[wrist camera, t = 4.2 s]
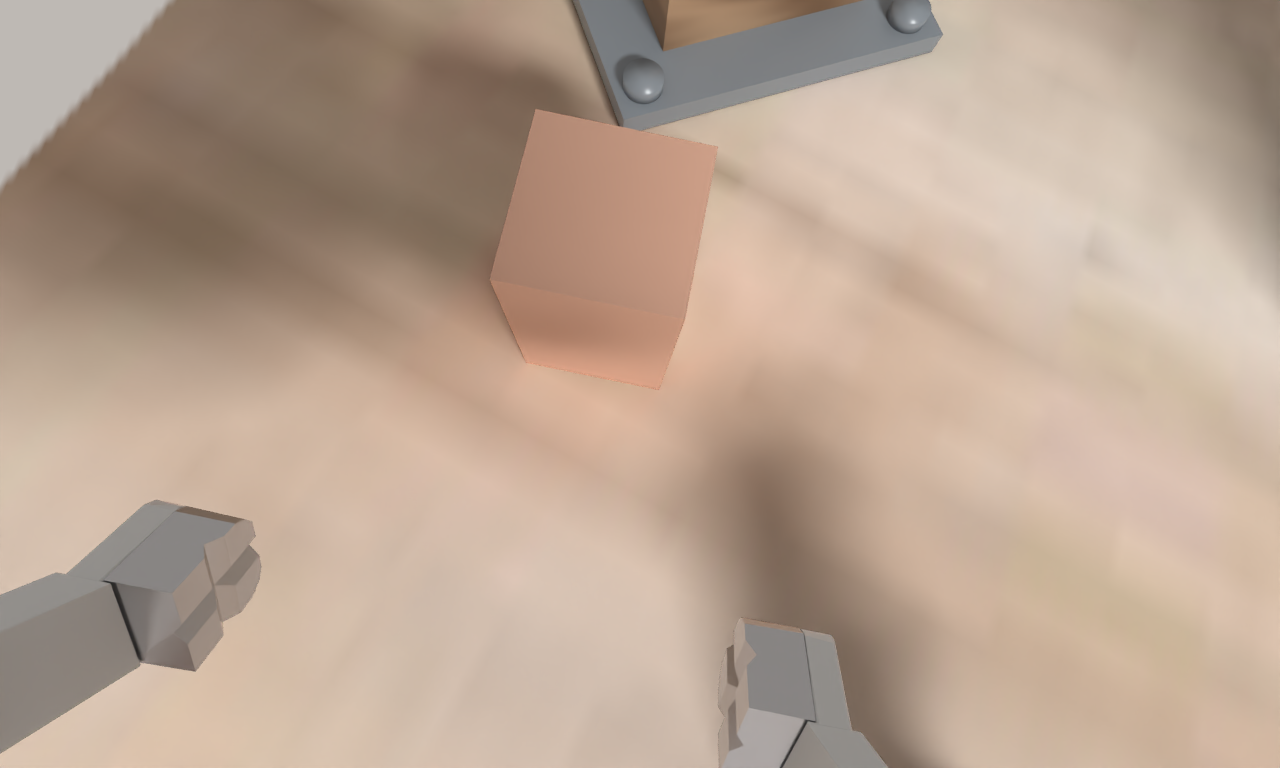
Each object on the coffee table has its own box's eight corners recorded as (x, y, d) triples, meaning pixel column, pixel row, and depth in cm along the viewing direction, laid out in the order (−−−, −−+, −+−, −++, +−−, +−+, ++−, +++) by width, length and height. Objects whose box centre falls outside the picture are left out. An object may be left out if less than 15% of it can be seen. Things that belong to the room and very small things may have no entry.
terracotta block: (556, 240, 25) (535, 109, 18) (683, 266, 25) (718, 147, 18) (526, 362, 24) (489, 279, 16) (658, 389, 24) (684, 319, 16)
